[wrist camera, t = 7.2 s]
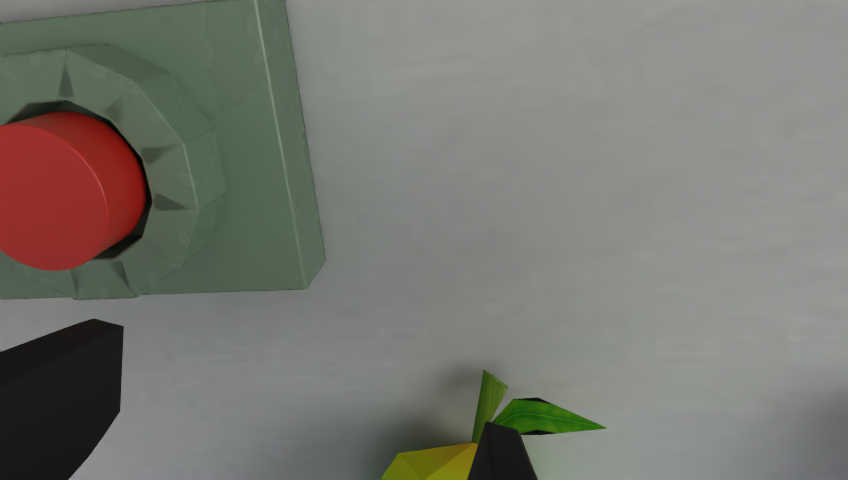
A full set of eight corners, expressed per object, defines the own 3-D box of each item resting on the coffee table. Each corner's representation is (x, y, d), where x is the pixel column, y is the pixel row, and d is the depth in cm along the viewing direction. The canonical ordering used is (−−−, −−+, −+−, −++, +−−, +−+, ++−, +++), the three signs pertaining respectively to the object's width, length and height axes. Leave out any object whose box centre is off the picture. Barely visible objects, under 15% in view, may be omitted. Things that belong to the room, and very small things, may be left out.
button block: (46, 272, 22) (-47, 328, 18) (-34, 28, 19) (-163, 37, 16) (326, 260, 21) (287, 319, 17) (284, -5, 18) (225, -3, 14)
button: (39, 248, 17) (-9, 274, 16) (-5, 116, 16) (-62, 129, 15) (161, 242, 17) (124, 268, 15) (126, 105, 16) (82, 118, 14)
